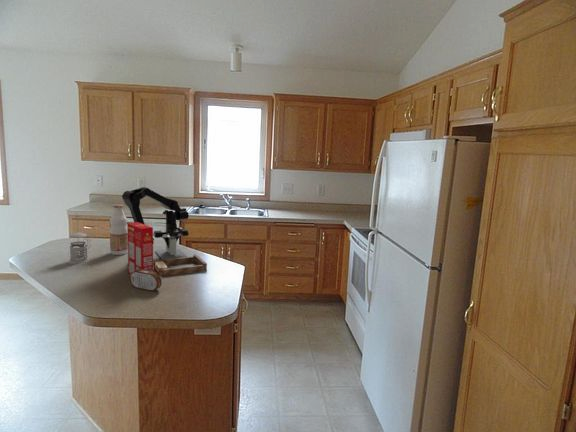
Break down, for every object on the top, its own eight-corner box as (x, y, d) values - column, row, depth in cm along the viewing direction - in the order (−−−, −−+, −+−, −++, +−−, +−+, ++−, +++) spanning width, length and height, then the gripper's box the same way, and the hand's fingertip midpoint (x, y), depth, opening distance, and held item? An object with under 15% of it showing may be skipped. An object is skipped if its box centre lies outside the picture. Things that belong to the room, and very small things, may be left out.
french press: (63, 261, 197) (61, 214, 193) (83, 256, 208) (81, 211, 203) (77, 264, 193) (75, 216, 189) (96, 259, 204) (94, 213, 200)
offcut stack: (159, 275, 185) (159, 268, 184) (154, 267, 196) (154, 261, 195) (168, 274, 187) (167, 267, 186) (162, 267, 198) (162, 260, 197)
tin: (162, 290, 165) (162, 272, 163) (157, 293, 162) (157, 274, 161) (134, 285, 170) (133, 267, 168) (129, 287, 167) (128, 269, 165)
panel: (171, 255, 213) (171, 239, 211) (166, 249, 223) (165, 235, 221) (176, 254, 214) (176, 239, 213) (171, 249, 224) (171, 234, 223)
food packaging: (153, 279, 178) (152, 227, 174) (142, 281, 175) (141, 228, 170) (138, 271, 188) (138, 222, 184) (128, 273, 184) (127, 223, 180)
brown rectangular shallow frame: (163, 276, 183) (163, 268, 183) (155, 265, 198) (155, 258, 198) (206, 270, 194) (206, 263, 193) (196, 261, 209) (196, 254, 209)
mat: (162, 260, 208) (162, 259, 208) (155, 252, 223) (155, 250, 223) (187, 257, 215) (187, 256, 215) (179, 250, 230) (179, 248, 230)
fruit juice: (108, 255, 212) (107, 206, 207) (112, 251, 221) (111, 203, 216) (126, 255, 214) (125, 206, 209) (129, 250, 223) (128, 204, 218)
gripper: (157, 225, 204) (157, 252, 206) (191, 223, 213) (191, 249, 216) (153, 221, 213) (153, 248, 216) (185, 219, 223) (185, 245, 225)
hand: (171, 247), depth 218 cm, fingers closed on panel, 3 cm apart
